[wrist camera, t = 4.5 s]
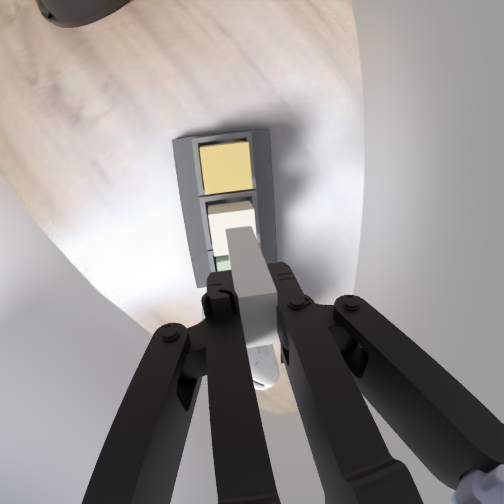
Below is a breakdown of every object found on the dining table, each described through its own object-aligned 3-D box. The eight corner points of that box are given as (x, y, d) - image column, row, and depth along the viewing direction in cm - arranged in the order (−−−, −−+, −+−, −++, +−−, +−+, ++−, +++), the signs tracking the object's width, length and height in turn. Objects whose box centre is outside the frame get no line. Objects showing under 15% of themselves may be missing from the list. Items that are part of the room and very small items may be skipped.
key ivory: (208, 205, 26) (208, 214, 23) (249, 200, 26) (254, 209, 24) (213, 243, 28) (214, 256, 25) (252, 238, 28) (257, 250, 25)
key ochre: (200, 146, 23) (199, 147, 21) (244, 141, 24) (248, 142, 21) (205, 187, 25) (205, 194, 22) (247, 182, 25) (252, 188, 23)
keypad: (174, 139, 27) (168, 140, 23) (266, 128, 28) (274, 128, 24) (197, 281, 34) (196, 299, 31) (275, 271, 35) (282, 287, 32)
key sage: (215, 250, 30) (216, 262, 28) (251, 245, 31) (255, 256, 28) (220, 280, 32) (221, 294, 29) (253, 275, 33) (257, 289, 30)
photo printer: (197, 294, 35) (195, 365, 24) (221, 275, 34) (228, 343, 23) (246, 335, 39) (260, 403, 28) (269, 320, 39) (290, 386, 28)
